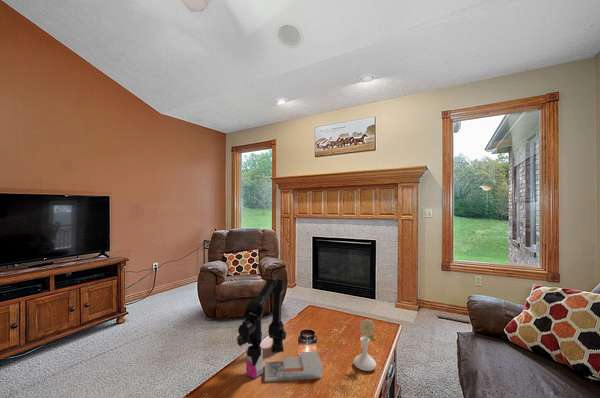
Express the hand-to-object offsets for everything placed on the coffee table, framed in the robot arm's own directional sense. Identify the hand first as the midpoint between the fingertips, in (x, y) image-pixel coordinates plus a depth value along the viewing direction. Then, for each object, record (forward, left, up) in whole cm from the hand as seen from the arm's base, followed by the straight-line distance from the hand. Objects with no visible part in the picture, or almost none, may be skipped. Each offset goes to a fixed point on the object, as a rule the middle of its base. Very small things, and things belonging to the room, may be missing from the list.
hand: (254, 360), depth 127 cm
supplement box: (0, 0, -7) cm, 7 cm away
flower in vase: (0, +56, -7) cm, 56 cm away
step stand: (0, +18, -6) cm, 20 cm away
